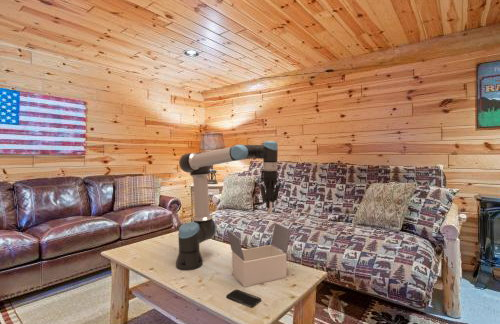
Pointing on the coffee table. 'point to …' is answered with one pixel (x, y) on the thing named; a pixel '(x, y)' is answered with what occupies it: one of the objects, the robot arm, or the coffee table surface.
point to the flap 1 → (235, 245)
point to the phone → (243, 298)
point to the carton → (259, 265)
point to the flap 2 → (281, 237)
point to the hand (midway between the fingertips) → (269, 213)
